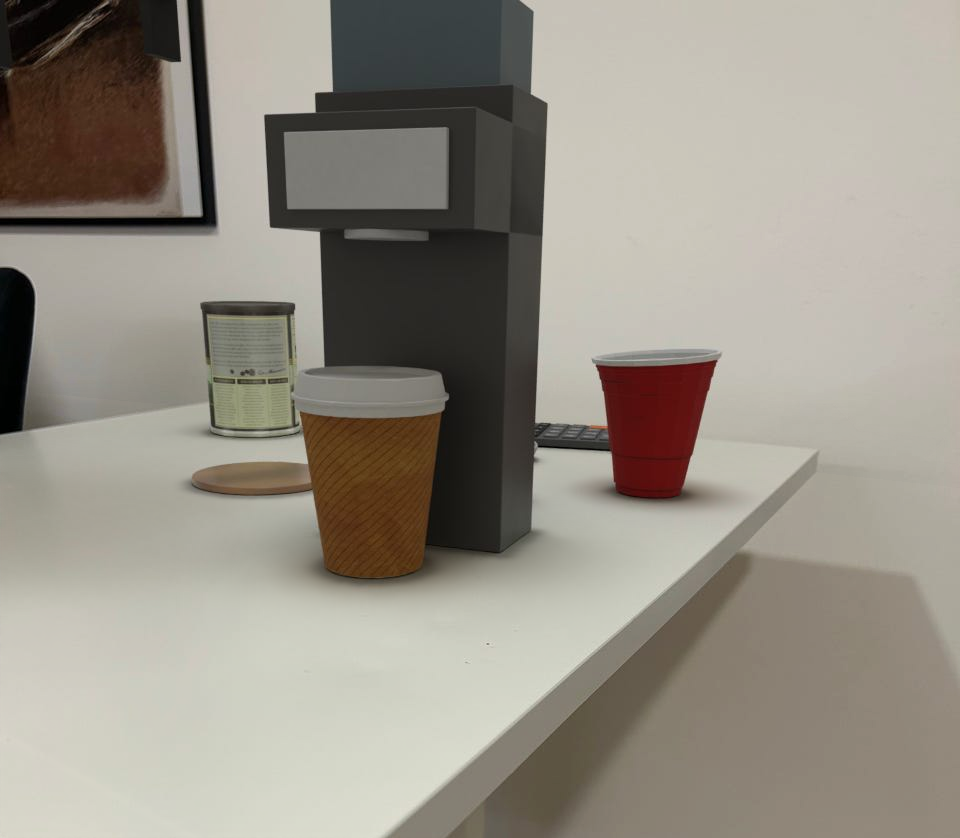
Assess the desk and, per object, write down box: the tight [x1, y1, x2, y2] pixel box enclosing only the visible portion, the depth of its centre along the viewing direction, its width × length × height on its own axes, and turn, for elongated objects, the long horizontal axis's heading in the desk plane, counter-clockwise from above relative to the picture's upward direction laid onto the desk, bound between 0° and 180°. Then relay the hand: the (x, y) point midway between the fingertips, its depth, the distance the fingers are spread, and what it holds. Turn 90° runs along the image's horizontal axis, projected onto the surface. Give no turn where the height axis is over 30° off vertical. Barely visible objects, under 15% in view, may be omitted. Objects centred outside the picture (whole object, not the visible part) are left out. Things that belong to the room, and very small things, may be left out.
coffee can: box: [199, 300, 301, 438], centre depth 111 cm, size 10×10×14 cm
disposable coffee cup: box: [291, 366, 449, 579], centre depth 61 cm, size 10×10×12 cm
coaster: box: [191, 461, 312, 496], centre depth 87 cm, size 12×12×1 cm
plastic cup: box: [590, 348, 723, 499], centre depth 84 cm, size 11×11×12 cm
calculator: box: [535, 422, 610, 450], centre depth 112 cm, size 12×1×15 cm
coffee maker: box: [263, 0, 549, 553], centre depth 63 cm, size 13×13×33 cm
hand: (75, 62), depth 64 cm, fingers open, 13 cm apart
